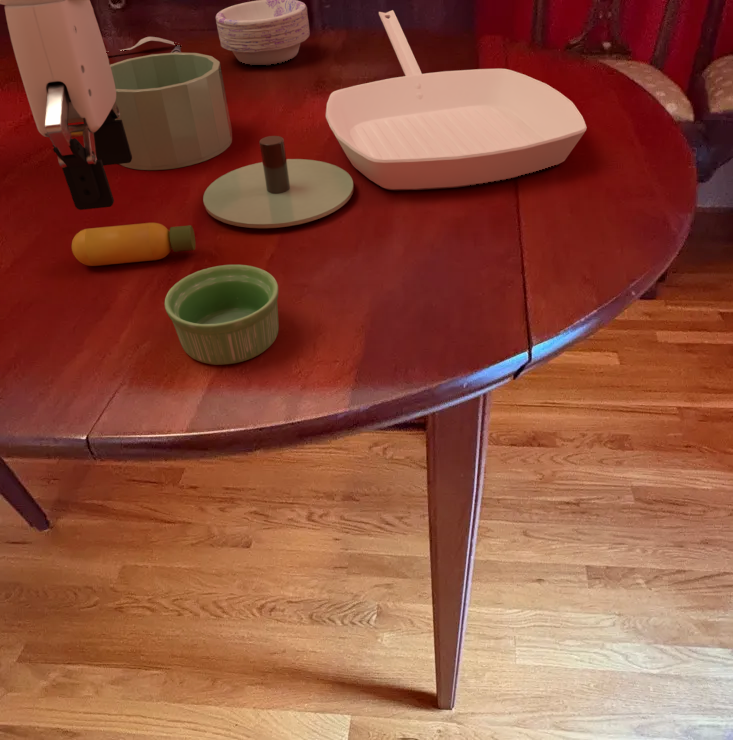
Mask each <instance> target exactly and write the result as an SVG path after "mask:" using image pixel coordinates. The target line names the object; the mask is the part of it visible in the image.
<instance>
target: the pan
mask: <svg viewBox="0 0 733 740" xmlns="http://www.w3.org/2000/svg"><path fill="white" fill-rule="evenodd" d="M378 16H379V18H380V20H381V22H382V25H383V27H384V29H385V32H386V34H387V36H388V39H389V41H390V44H391V46H392V48H393V50H394V53H395V55H396V57H397V60H398V62H399V65H400V67H401V69H402V71H403V74H404V75H403V76H398V77H397V76H396V77H391V78H386V79H385V78H384V79H381V80H375V81H371V82H367V83H362V84H356V85H352V86H349V87H344V88H340V89H336V90H334V91H332V92H331V93H330V94H329V97H328V100H327V102H326V106H325V107H326V108H325V119H326V122H327V123H328V125H329V128H330V130H331V132H332V133H333V135H334V136H335V138H336V140H337V142H338V144H339V146H340V147H341V149H342V151H343V152H344V154H345V156H346V157H347V159H348V160H349V162H350V163H351V166H353V167H354V168H355V169H356V170H357V171H359V172H360V173H361V174H362V175H363V176H364V177H366V178H367V179H368V180H370V181H371V182H373V183H374V184H376V185H377V186H380V187H381V188H382V189H384V190H388V191H421V190H422V191H423V190H424V191H425V190H439V189H441V190H442V189H455V188H462V187H470V185H471V186H477V185H476V184H479V185H484V184H483V183H485V184H489V183H488V182H491V183H495V182H494V181H496V182H501V181H500V180H502V181H507V180H506V179H508V180H512V179H516V178H519V177H522V176H521V175H523V176H526V175H525V174H527V175H529V173H530V174H534V173H537V172H536V171H538V172H540V171H539V170H541V171H543V170H542V169H544V170H546V169H545V168H547V169H549V168H548V167H550V168H552V167H551V166H553V167H555V166H554V165H556V166H558V165H560V164H561V163H564V162H565V161H566V159H567V158H568V157H569V156H570V154H571V152H572V151H573V150H574V148H575V147H576V145H578V143H579V141H580V140H581V139H582V137H583V135H584V134H585V132H586V131H587V128H588V127H587V124H586V121H585V119H584V117H583V115H582V114H581V112H580V111H579V109H578V108H577V106H576V105H575V103H574V102H573V101H572V100H570V99H569V98H568V97H567V96H565V95H564V94H563V93H561V91H558V90H557V89H556V88H553V86H550V85H549V84H547V83H546V82H542V81H541V80H538V79H535V78H533V77H531V76H528V75H526V74H525V73H524V74H523V73H522V72H518V71H515V70H512V69H507V68H477V69H461V70H460V69H459V70H443V71H435V72H426V73H422V71H421V69H420V66H419V64H418V62H417V60H416V59H417V58H415V55H414V53H413V50H412V48H411V46H410V44H409V42H408V39H407V37H406V35H405V33H404V31H403V29H402V26H401V24H400V22H399V19H398V17H397V16H396V13H395V11H394V10H393V9H392V10H389V11H386V12H383V11H378ZM533 172H534V173H533ZM518 176H519V177H518ZM511 178H512V179H511Z"/></svg>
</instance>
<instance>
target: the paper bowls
mask: <svg viewBox="0 0 733 740" xmlns="http://www.w3.org/2000/svg"><path fill="white" fill-rule="evenodd" d="M215 23H216V30H217V34H218V38H219V41H220V47H221V48H222V49H225V50H227V51H231V52H232V53H233V56H234V57H235V58H236V59H237V61H238V62H239V63H241V62H242V63H241V64H243V63H245V64H244V65H246V64H250V65H249V66H252V65H266V66H272V65H271V64H274V65H278V64H277V63H279V64H283V63H286V62H288V60H289V61H290V59H291V60H292V59H294V58H295V57H296V56H297V55H298V53H299V50H300V48H301V44H302V43H304V42H305V41H306V40H307V39H308V38H309V37H310V36H311V35H310V32H311V31H310V23H309V15H308V7H307V5H306V4H305V2H303V1H301V0H252V1H247V2H242V3H238V4H234V5H231V6H228V7H225V8H224V9H221V10H219V11H218V12H217V13H216V15H215ZM285 61H286V62H285ZM282 62H283V63H282Z"/></svg>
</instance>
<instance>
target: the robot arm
mask: <svg viewBox="0 0 733 740" xmlns="http://www.w3.org/2000/svg"><path fill="white" fill-rule="evenodd" d="M0 5H3V6H4V12H5V13H4V14H5V19H6V23H7V29H8V32H9V39H10V42H11V46H12V49H13V53H14V57H15V60H16V63H17V67H18V71H19V74H20V77H21V81H22V83H23V84H22V85H23V87H24V91H25V94H26V97H27V102H28V103H29V107H30V110H31V114H32V116H33V120H34V123H35V126H36V129H37V131H38V133H39V134H40V135H41V136H42V137H45V138H49V140H50V142H51V143H52V147H53V148H52V151H53V152H54V153H55V154H56V156H57V161H58V164H59V166H60V168H61V169H62V172H63V175H64V178H65V181H66V184H67V187H68V190H69V193H70V195H71V199H72V202H73V204H74V207H75V208H76V209H77V210H78V211H84V210H93V209H103V208H111V207H112V206H113V205H114V202H115V199H114V195H113V192H112V189H111V186H110V183H109V180H108V176H107V173H106V169H105V167H104V166H112V165H114V166H115V165H119V164H123V163H130V162H131V160H132V154H131V151H130V147H129V144H128V140H127V136H126V133H125V129H124V126H123V122H122V120H115V119H120V111H119V108H118V106H117V104H116V102H115V100H116V88H115V83H114V79H113V74H112V70H111V67H110V65H111V62H110V59H109V56H108V54H107V53H106V52H107V49H106V45H105V43H104V40H103V36H102V33H101V31H100V27H99V23H98V20H97V18H96V14H95V10H94V8H93V5H92V3H91V0H0ZM76 123H77V124H76ZM78 137H79V138H80V137H82V138H83V145H82V144H81V142H80V141H79V140H78V139H77V138H78Z"/></svg>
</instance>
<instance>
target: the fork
mask: <svg viewBox="0 0 733 740" xmlns="http://www.w3.org/2000/svg"><path fill="white" fill-rule="evenodd" d="M147 42H160V43H163V44H169V45H172V46H175V44H174V41H172V40H169V39H165V38H161V37H157V36H156V37H155V36H147V37H143V38H141V39H140V40H138V42H137V43H136V44H135V45H134V46H131V47H128V48H123V49H119V50H120V51H122V50H123V51H124V50H129V51H131V50H134V49H136V48H138V47H139V46H141V45H143V44H145V43H147Z"/></svg>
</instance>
